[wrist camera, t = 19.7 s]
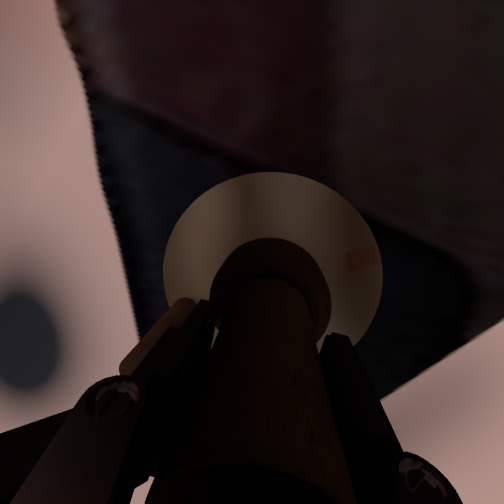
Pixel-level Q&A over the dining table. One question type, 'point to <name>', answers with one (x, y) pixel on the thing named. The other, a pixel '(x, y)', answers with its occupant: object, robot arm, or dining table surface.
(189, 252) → the disc
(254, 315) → the wooden pepper mill
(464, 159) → the dining table surface
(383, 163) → the dining table surface
